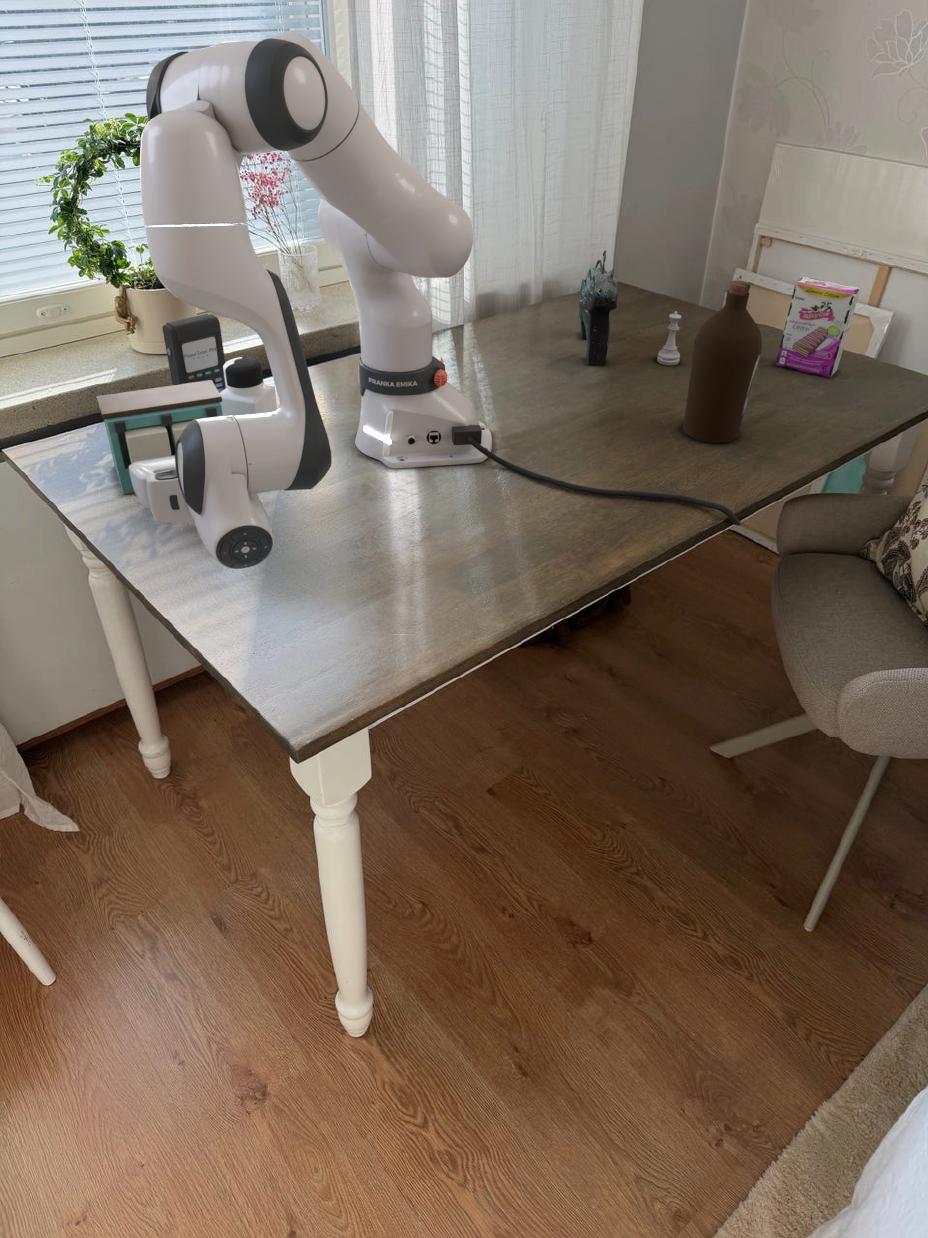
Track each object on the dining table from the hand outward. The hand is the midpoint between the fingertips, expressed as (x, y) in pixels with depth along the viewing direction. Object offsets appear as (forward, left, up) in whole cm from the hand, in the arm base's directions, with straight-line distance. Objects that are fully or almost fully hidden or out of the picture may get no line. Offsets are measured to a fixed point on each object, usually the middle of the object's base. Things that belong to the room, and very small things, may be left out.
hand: (196, 447), depth 133 cm
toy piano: (+6, -6, -7) cm, 11 cm away
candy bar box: (-106, -55, -7) cm, 119 cm away
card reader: (+7, -30, -7) cm, 32 cm away
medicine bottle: (-3, -21, -7) cm, 22 cm away
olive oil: (-81, -25, -7) cm, 85 cm away
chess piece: (-79, -57, -7) cm, 97 cm away
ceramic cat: (-64, -62, -7) cm, 89 cm away
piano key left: (+7, 0, -3) cm, 7 cm away
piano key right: (+1, -3, -3) cm, 4 cm away
